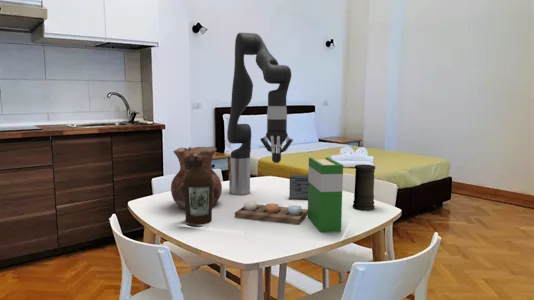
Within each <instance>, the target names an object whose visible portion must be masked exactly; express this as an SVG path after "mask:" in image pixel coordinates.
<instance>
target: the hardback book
mask: <svg viewBox="0 0 534 300" xmlns="http://www.w3.org/2000/svg"><path fill="white" fill-rule="evenodd" d="M307 175H308V200H307V209H308V215H307V218H308V220H309V221H310V222H311V223H312V225H313V226H314V227H315V228H316V230H318V232H319V233H335V232H336V233H339V232H342V213H343V211H342V210H343V182H344V179H343V178H344V164H342V163H341V162H338V161H336V160H334V159H332V158H331V157H327V156H326V157H325V158H322V159H318V158H317V159H314V158H313V157H308V174H307Z"/></svg>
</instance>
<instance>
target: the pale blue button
mask: <svg viewBox="0 0 534 300" xmlns="http://www.w3.org/2000/svg"><path fill="white" fill-rule="evenodd" d="M302 209H303V207H302V206H300V205H289V206H288V214H289V215H294V216H298V215H301V214H302Z"/></svg>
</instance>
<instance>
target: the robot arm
mask: <svg viewBox="0 0 534 300" xmlns="http://www.w3.org/2000/svg"><path fill="white" fill-rule="evenodd" d="M234 42H235V43H234V72H233V77H232V79H233V80H232V87H231V88H232V90H231V103H230V114H229V118H228V119H229V120H228V126H227V133H226V134H227V135H226V137H227V141H228V143H229V144H233V145H234V144H241V145H240V147H238V148H236V149H234V150H232V151H231V152H230V173H229V174H228V176H229V177H228V179H229V182H228V183H229V184H228V186H229V187H228V191H229V192H228V193H229V194H231V195H232V194H233V195H244V196H245V195H248V194H250V193H251V150H252V127H251V126H250V124H248V123H239V119H240V117H241V115H242V113H244V111H245V109H246V108H247V107H248V105H249V104H250V103H251V101H252V98H253V91H254V90H253V89H254V84H253V81H252V78H251V76H250V74H249V72H248V70H247V68H246V65H245V55H246V56H255V55H256V56H255V64H256V65H257V67H258V68H259V69H260V70H261V72H262V75H263V80H264V81H265V82H266V83H267V84H270V85H275V84H276V85H277V84H278V87H277V88H276V89H273V90H270V91H268V92H267V93H268V94H267V112H266V118H267V119H266V120H267V121H266V134H265V136H263V137H261V138H260V142H261V143H262V144H263V146H264V147H265V148H264V149H266V150H267V152H270V153H271V161H272V162H273V164H279V163H280V162H281V160H282V153H284V152H286V151H287V150H288V148H289V147H290V146H291V144H292V143H293V142H294V139H293V138H291V137H290V136H289V135H288V132H287V129H288V127H287V126H288V113H287V112H288V110H287V94H288V90H289V87H290V84H291V83H290V82H291V79H292V70H291V68H290V66H288V65H285V64H284V65H283V64H279V62H278V60H277V59H276V58H275V57H274V56H273V55H272V53H271V52H270V51H269V50H268V48H267V45H266V43H265V42H264V40H263V38H262V37H261V35H259V34H258V33H253V32H238V33H237V34H236V36H235V40H234ZM284 142H285V144H284V146H283V143H284Z"/></svg>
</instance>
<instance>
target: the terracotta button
mask: <svg viewBox="0 0 534 300" xmlns="http://www.w3.org/2000/svg"><path fill="white" fill-rule="evenodd" d="M265 205H266V212H267V213H278V212H279V207H280V205H279V204H278V203H273V202H271V203H270V202H269V203H266V204H265Z"/></svg>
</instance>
